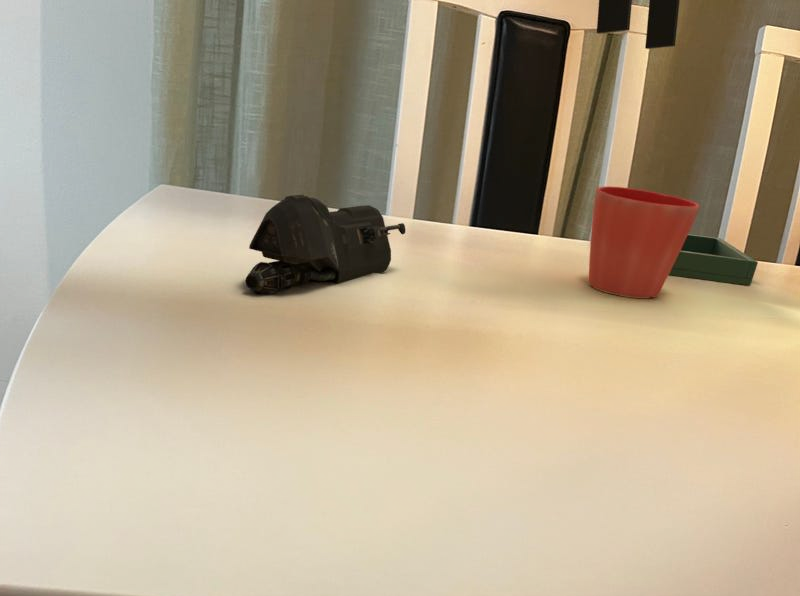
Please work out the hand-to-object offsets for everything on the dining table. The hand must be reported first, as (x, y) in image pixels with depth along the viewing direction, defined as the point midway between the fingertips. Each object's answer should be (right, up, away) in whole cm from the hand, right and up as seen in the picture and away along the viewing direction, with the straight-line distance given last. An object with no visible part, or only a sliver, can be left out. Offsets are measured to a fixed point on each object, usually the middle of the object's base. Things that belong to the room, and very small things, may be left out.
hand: (637, 40), depth 94 cm
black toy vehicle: (-30, -21, +3) cm, 37 cm away
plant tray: (+15, -7, +36) cm, 40 cm away
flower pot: (+4, -18, +17) cm, 25 cm away
